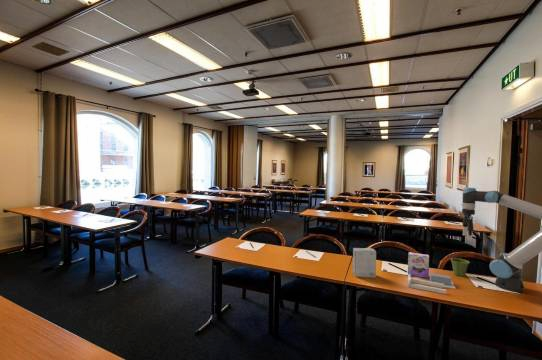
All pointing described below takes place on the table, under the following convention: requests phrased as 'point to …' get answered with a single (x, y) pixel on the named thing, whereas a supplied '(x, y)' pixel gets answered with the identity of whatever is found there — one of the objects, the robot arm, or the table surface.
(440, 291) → the shelf bay
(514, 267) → the robot arm
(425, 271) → the candy box
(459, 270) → the plant pot
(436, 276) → the blank
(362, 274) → the hard drive box
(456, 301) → the table surface
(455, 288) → the mat
